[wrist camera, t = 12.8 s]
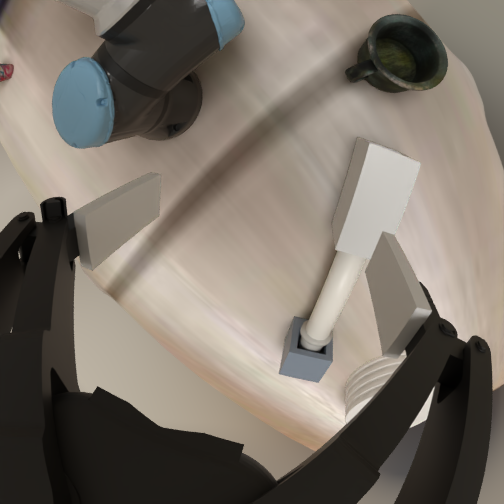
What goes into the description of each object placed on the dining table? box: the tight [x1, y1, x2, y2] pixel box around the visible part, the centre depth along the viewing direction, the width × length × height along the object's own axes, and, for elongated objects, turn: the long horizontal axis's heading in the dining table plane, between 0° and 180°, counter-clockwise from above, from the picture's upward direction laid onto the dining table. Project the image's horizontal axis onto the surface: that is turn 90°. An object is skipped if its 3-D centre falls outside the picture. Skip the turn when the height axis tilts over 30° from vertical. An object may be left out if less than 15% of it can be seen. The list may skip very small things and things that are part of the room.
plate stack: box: [345, 351, 435, 427], centre depth 59 cm, size 28×28×12 cm
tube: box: [297, 251, 366, 353], centre depth 48 cm, size 32×7×7 cm, turn 169°
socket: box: [279, 316, 333, 382], centre depth 56 cm, size 8×9×10 cm
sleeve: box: [332, 137, 421, 260], centre depth 38 cm, size 16×8×10 cm, turn 169°
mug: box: [345, 14, 448, 93], centre depth 27 cm, size 11×15×12 cm
